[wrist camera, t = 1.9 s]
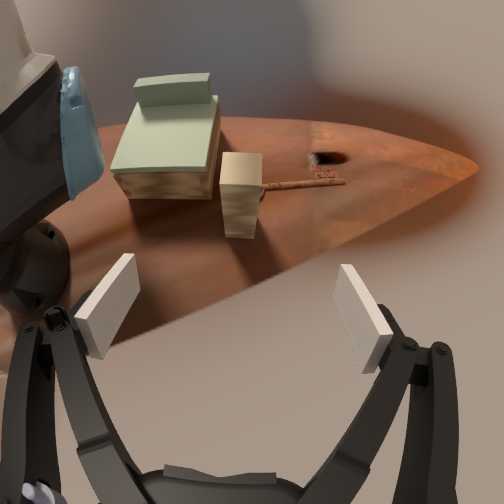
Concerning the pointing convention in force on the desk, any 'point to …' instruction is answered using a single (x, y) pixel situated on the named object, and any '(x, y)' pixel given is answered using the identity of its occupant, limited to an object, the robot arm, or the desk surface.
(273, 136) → the desk surface
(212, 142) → the light wooden box
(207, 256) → the desk surface
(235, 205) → the block
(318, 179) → the key
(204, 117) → the lid
